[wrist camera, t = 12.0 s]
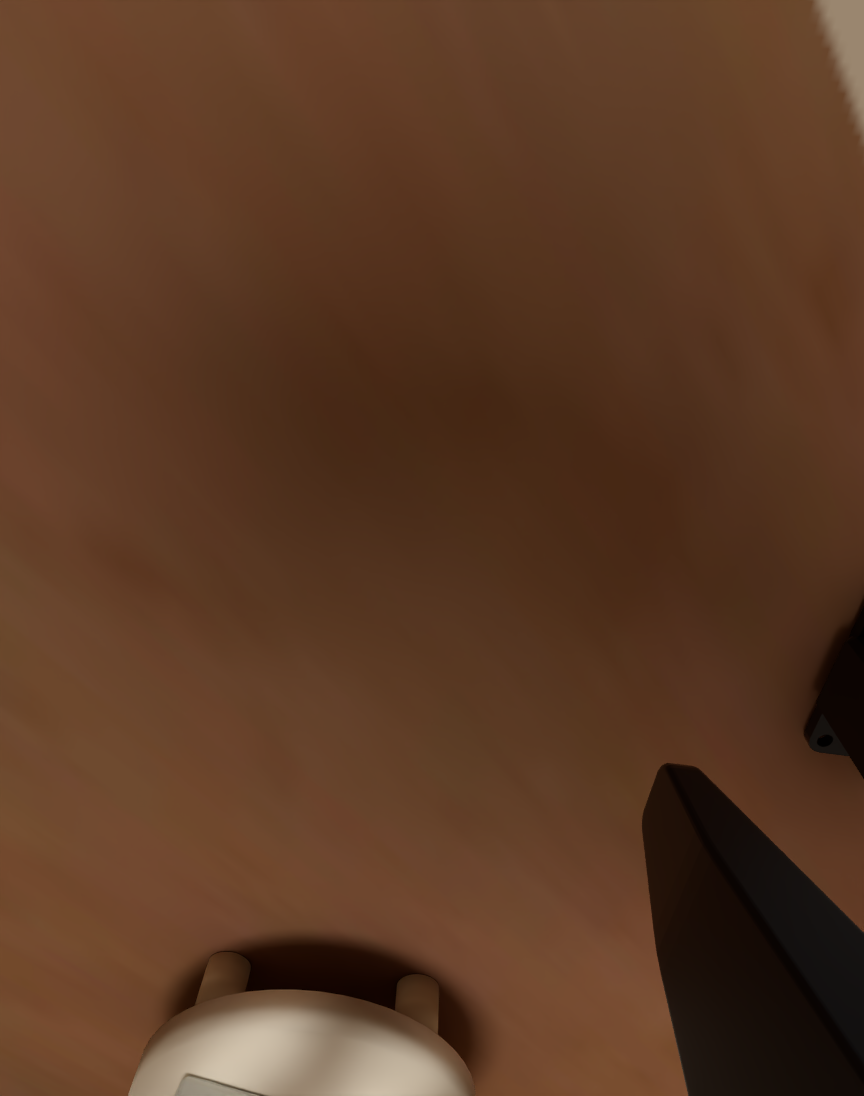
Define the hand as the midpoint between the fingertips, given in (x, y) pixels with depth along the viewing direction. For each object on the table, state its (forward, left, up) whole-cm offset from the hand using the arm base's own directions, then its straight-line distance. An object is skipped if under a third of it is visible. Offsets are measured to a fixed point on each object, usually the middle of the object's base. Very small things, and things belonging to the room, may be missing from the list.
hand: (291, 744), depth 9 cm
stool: (0, +29, -13) cm, 32 cm away
